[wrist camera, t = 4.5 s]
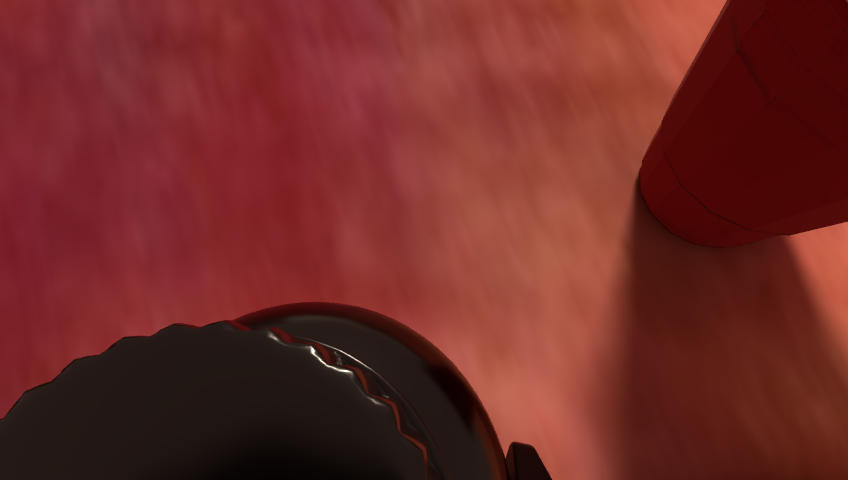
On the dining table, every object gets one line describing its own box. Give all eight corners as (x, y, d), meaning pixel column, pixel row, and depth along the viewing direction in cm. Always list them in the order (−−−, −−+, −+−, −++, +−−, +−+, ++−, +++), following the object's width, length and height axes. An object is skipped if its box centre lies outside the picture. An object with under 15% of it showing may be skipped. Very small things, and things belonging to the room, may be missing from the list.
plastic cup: (874, 300, 18) (1651, 130, 7) (613, 315, 18) (951, 167, 6) (784, 84, 22) (1180, -263, 10) (567, 94, 21) (728, -248, 10)
